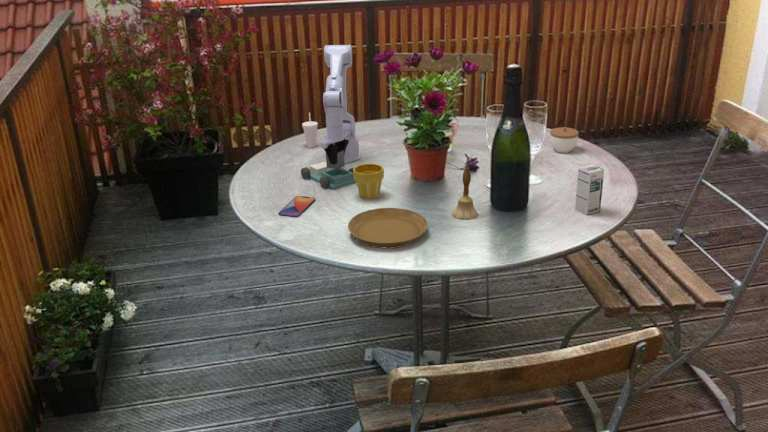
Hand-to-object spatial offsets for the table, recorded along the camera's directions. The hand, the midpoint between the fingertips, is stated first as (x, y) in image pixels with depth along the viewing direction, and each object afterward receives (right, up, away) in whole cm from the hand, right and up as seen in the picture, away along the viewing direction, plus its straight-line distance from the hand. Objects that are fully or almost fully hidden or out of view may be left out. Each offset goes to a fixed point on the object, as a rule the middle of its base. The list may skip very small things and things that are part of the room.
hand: (336, 161), depth 255 cm
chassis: (-3, -5, +7) cm, 9 cm away
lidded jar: (+87, +6, +28) cm, 92 cm away
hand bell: (+43, -19, -24) cm, 52 cm away
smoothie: (-13, +9, +40) cm, 43 cm away
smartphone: (-12, -17, -16) cm, 26 cm away
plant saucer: (+18, -25, -35) cm, 47 cm away
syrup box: (+82, -17, -24) cm, 87 cm away
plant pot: (+12, -12, -8) cm, 19 cm away
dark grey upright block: (0, -2, +1) cm, 2 cm away
